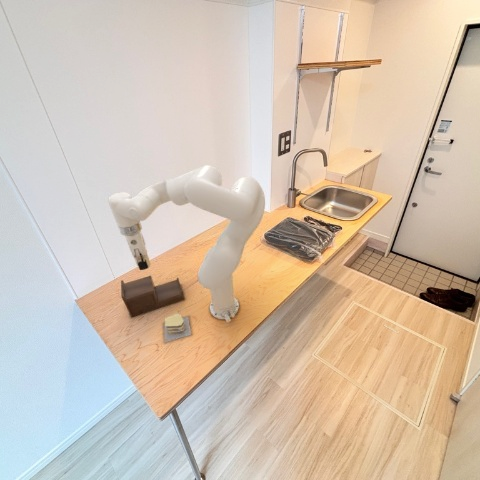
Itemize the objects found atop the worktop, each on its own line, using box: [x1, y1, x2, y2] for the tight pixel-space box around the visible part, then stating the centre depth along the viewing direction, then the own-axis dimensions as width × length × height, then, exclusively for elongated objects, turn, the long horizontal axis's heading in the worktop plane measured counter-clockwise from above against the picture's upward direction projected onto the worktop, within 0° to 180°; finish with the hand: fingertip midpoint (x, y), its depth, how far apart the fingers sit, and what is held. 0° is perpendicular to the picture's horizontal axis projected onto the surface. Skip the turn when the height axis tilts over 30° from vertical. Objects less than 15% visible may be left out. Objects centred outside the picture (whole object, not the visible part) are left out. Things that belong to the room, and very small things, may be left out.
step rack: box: [120, 275, 185, 318], centre depth 108 cm, size 10×23×13 cm, turn 113°
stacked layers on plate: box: [163, 313, 192, 343], centre depth 97 cm, size 10×9×6 cm
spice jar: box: [133, 249, 152, 271], centre depth 97 cm, size 6×6×8 cm
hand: (143, 263), depth 99 cm, fingers closed on spice jar, 5 cm apart
